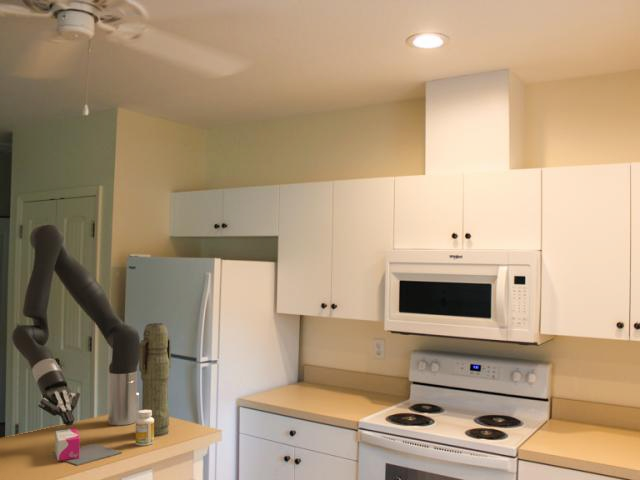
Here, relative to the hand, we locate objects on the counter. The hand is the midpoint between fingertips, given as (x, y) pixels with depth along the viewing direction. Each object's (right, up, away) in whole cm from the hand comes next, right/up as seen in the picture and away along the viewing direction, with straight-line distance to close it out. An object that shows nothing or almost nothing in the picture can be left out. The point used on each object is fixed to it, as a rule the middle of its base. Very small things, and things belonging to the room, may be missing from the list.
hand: (70, 423), depth 183 cm
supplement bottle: (+20, -8, +6) cm, 22 cm away
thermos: (+20, -8, +17) cm, 28 cm away
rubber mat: (+7, -7, -5) cm, 11 cm away
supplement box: (-1, -4, -1) cm, 5 cm away
